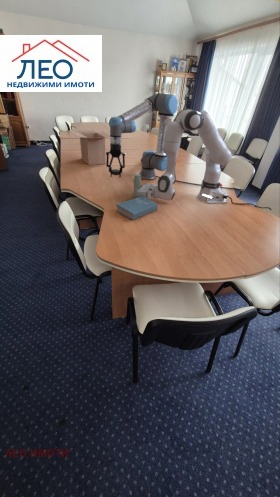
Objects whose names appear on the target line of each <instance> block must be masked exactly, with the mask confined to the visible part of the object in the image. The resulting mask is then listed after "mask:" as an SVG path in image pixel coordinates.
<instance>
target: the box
mask: <svg viewBox="0 0 280 497" xmlns="http://www.w3.org/2000/svg"><path fill="white" fill-rule="evenodd" d="M70 133H71V134H72V135H74V136H75V137H77V138H79V144H80V153H81V160H83V162H85V163H86V165H87V166H95V165H97V166H98V165H106V161H107V156H106V138H110V133H108V132H105V131H98V132H96V131H95V130H92V129H91V130H77V132H76V131H70Z"/></svg>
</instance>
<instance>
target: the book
mask: <svg viewBox="0 0 280 497" xmlns="http://www.w3.org/2000/svg"><path fill="white" fill-rule="evenodd" d="M158 206H159V205H158V203H157V202H155V201H153V200H151V199H147V198H144V197H142V196H140V197H133V198H131V199H128V200H125V201H123V202H120V203H116V208H117V209H116V212H117V213H119V214H120V215H122V216H124V217H125V218H127V219H129V220H131V221H133V220H136V219H138V218H141V217H143V216H146V215H148V214H150V213H153V212H155V211H157V210H158Z"/></svg>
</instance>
